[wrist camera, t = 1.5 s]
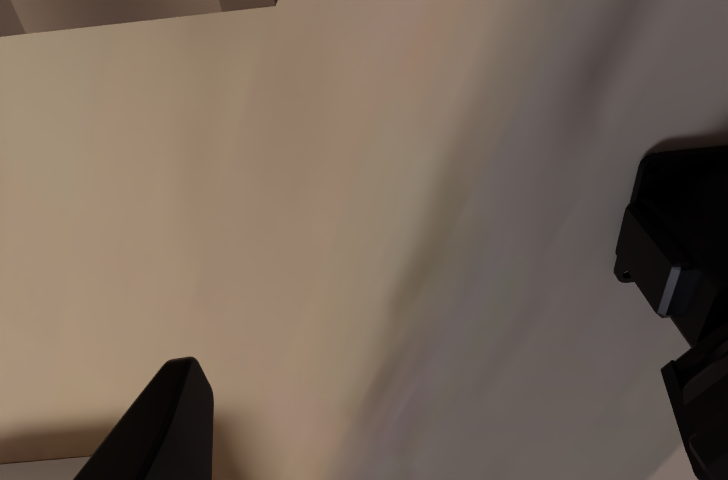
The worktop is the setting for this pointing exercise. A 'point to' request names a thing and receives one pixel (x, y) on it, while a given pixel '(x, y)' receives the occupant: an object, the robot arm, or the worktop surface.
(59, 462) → the part corral
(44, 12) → the socket block
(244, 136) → the worktop surface
